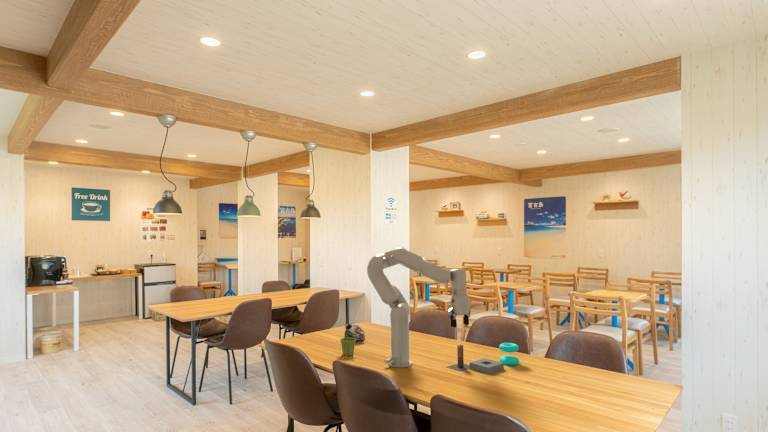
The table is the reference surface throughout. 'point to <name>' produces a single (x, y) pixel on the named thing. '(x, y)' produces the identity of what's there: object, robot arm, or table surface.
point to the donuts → (509, 359)
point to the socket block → (486, 366)
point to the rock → (354, 332)
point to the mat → (455, 367)
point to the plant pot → (348, 346)
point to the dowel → (460, 356)
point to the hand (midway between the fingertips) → (460, 325)
